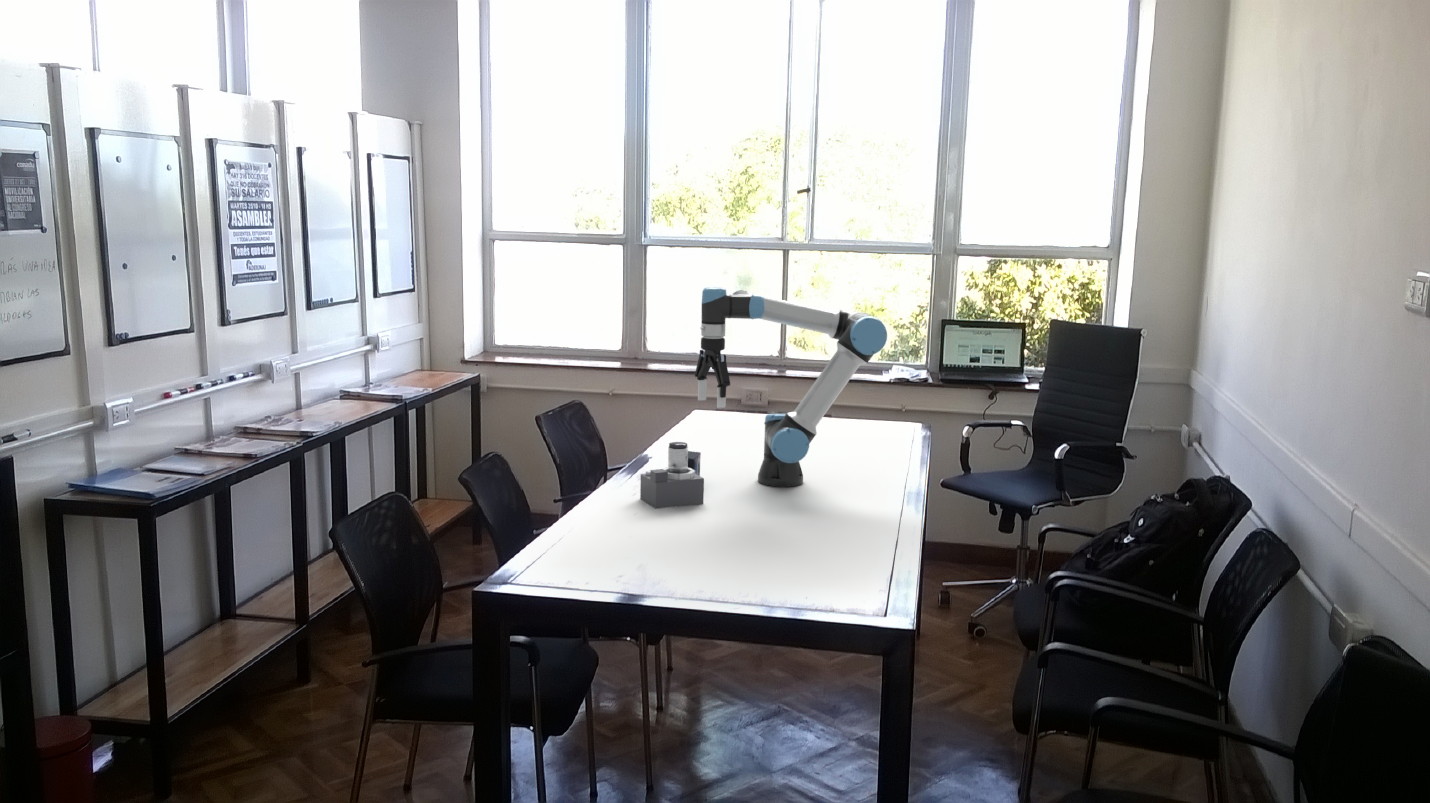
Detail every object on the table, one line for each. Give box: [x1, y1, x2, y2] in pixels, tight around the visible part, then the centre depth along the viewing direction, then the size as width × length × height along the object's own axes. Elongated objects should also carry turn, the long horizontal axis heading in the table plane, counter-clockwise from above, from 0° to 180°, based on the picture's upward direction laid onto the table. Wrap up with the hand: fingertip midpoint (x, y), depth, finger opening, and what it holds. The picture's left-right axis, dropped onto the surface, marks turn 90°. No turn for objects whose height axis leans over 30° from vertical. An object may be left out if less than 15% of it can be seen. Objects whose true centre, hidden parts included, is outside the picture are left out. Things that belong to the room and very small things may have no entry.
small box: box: [688, 450, 702, 477], centre depth 359 cm, size 11×6×10 cm, turn 168°
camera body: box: [639, 466, 705, 510], centre depth 339 cm, size 16×12×11 cm
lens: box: [667, 441, 689, 474], centre depth 338 cm, size 6×6×10 cm
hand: (711, 403), depth 347 cm, fingers open, 13 cm apart
